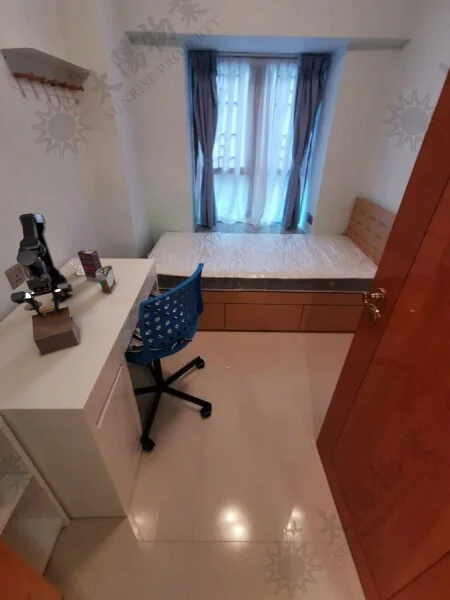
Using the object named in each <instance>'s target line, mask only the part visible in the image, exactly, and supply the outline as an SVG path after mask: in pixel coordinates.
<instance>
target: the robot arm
mask: <svg viewBox="0 0 450 600" xmlns="http://www.w3.org/2000/svg"><path fill="white" fill-rule="evenodd" d="M18 220H19V223H20V225H21V227H22V239H21V240H20V241H19V247H18V250H17V255H16V259H15V260H16V262H17V263H18V264H19V265H20V266H21V267H22V268H24V269H25V270H27V274H28V279H27V280H25V282H26V285H27V288H28V290H29V291H30V292H25V291H24V290H22V291H17V292H12V293H11V294H10V301H11V302H13V303H15V304H16V305H20V304H25V303H26V304H28V305H30V306H31V307H32V308H33V309H34V311H35V312H36V314H38V315H39V316H40V317H42V315H41V313H40V312H39V309H41V308H40V305H39V302H38V300H37V299H35V298H36V297H40V296H45V295H49V294H51V295H52V298H51V301H53V305H55V310H56V313H58V310H59V309H60V305H61V303H63V302H65V301H66V300H68V299H69V298H71V297H72V296H73V294H72V292H74V289H73V286H72V284H71V282H69V281H68V279H67V277H66V276H64V274H63V273H62V272H61V270H60V269H58V268H57V267H56V265H55V263H54V260H53V256H52V254H51V251H50V248H49V245H48V242H47V239H46V237H45V233H46V229H47V226H46V224H47V222H46V219H45V216H44V215H43V214H41V213H37V212H36V213H32V212H30V213H22V214H20V215H19V216H18Z"/></svg>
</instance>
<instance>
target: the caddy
mask: <svg viewBox="0 0 450 600" xmlns="http://www.w3.org/2000/svg"><path fill="white" fill-rule="evenodd" d="M71 322H72V328H73V331H71V332H67V333H63V334H60V335H56V336H53V337H49V338H46V339H42V340H38V341H35V342H34V344H35V345H36V348H37V349H38V351H39V353H40V355H41V356H44V355H46V354H50V353H54V352H57V351H61V350H63V349H66V348H71V347H74V346H77V345H79V344H80V342H79V328H78V326H77V323H76V321H75V319H74V316H73V315H72V316H71Z"/></svg>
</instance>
